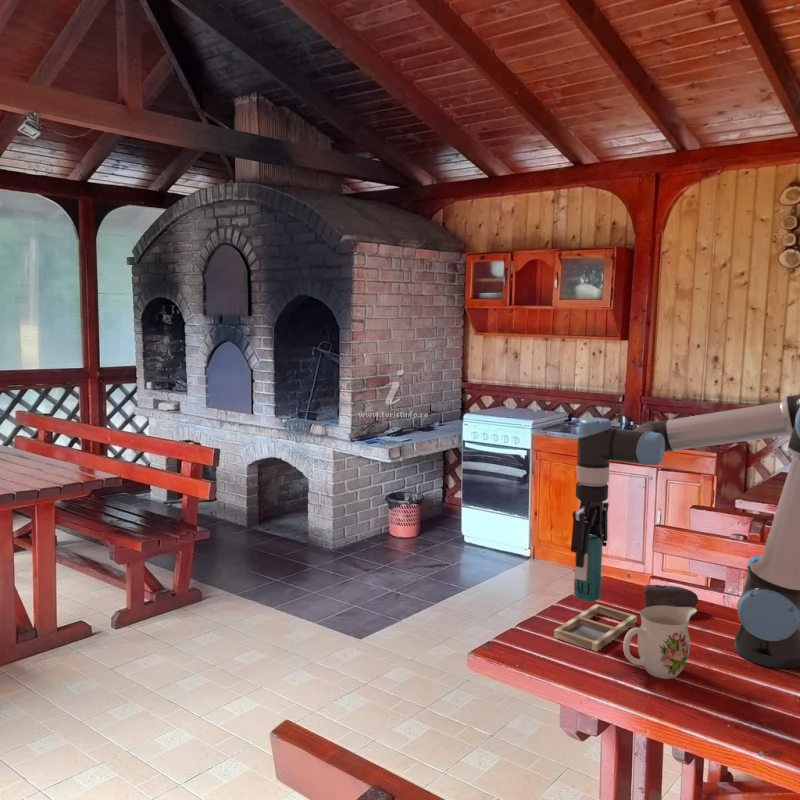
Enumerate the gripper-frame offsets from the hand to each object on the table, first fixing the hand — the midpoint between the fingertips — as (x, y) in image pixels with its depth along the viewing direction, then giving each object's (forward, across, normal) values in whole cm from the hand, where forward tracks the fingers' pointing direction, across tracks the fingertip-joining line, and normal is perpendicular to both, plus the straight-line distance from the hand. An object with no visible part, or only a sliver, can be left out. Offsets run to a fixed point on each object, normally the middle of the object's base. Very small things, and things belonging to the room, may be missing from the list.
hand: (588, 575), depth 182 cm
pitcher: (+16, +5, +20) cm, 26 cm away
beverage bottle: (+7, 0, 0) cm, 7 cm away
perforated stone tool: (+16, -30, +9) cm, 35 cm away
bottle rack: (+16, -5, 0) cm, 17 cm away
